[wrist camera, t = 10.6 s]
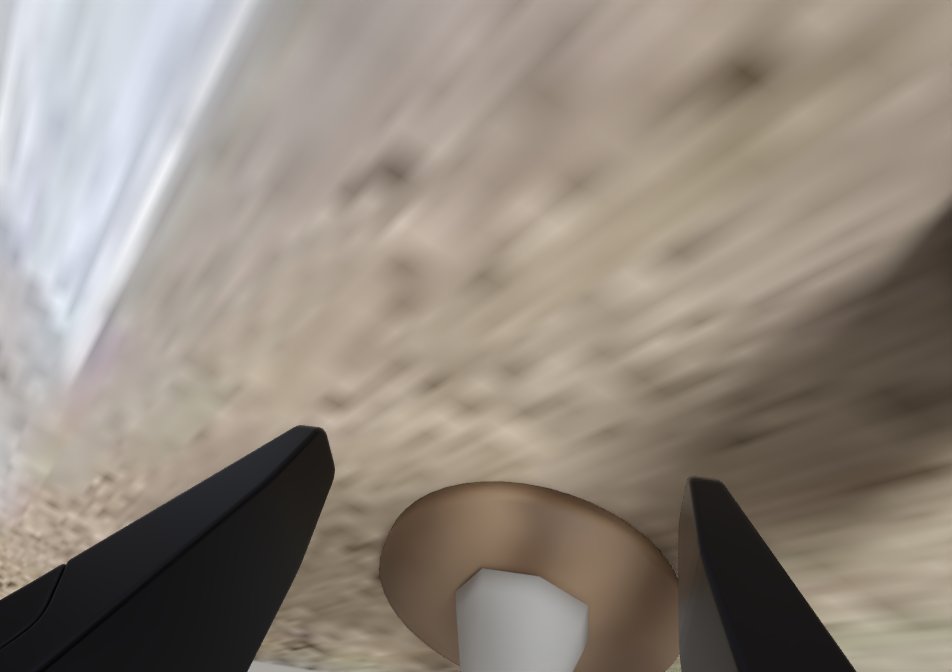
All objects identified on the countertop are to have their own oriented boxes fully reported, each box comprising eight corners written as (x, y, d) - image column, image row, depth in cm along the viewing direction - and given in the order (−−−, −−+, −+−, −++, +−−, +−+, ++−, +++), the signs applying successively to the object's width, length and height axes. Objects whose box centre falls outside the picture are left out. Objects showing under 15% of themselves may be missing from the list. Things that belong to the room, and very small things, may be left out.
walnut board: (707, 510, 25) (709, 532, 24) (664, 700, 34) (664, 722, 33) (367, 460, 29) (357, 478, 28) (405, 642, 37) (398, 661, 36)
